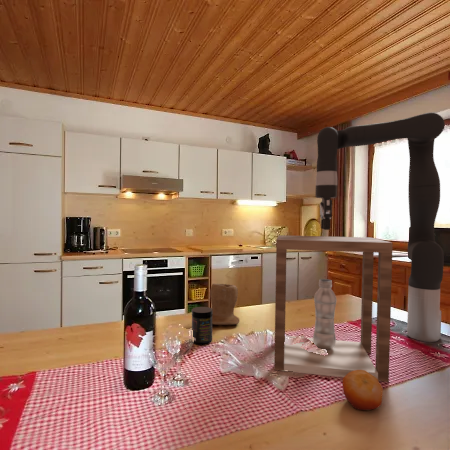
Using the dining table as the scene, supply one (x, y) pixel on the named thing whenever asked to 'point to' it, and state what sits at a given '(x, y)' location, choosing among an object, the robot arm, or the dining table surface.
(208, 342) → the supplement container
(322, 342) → the plastic bottle
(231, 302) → the brown ankle boot
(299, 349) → the walnut shelf
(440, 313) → the robot arm
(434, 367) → the dining table surface
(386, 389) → the dining table surface
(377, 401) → the fruit
